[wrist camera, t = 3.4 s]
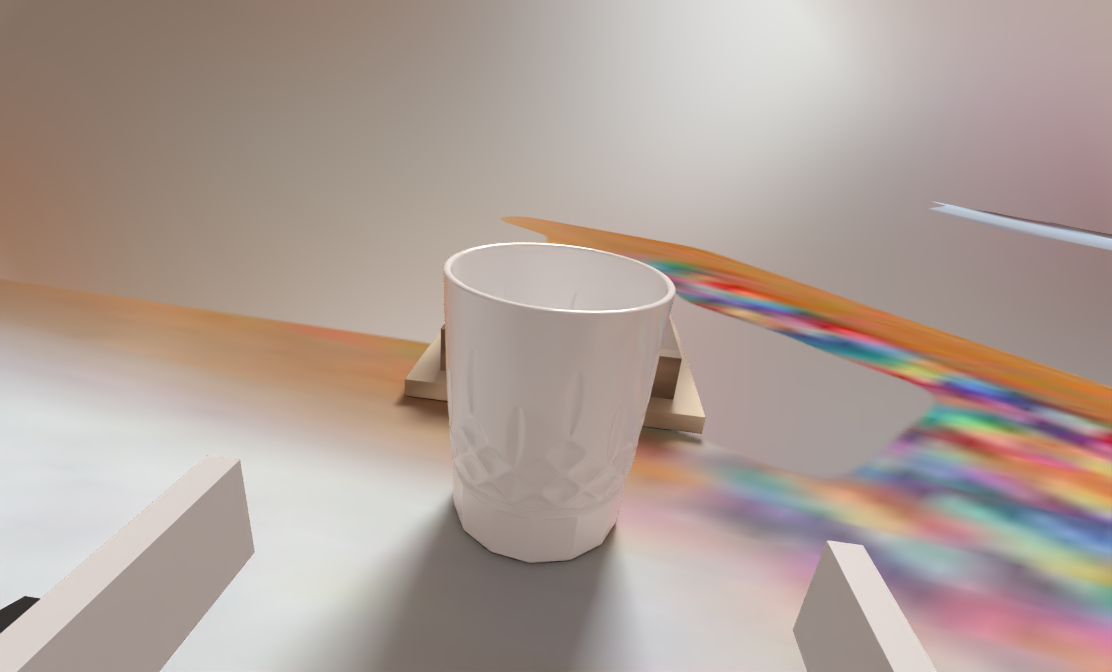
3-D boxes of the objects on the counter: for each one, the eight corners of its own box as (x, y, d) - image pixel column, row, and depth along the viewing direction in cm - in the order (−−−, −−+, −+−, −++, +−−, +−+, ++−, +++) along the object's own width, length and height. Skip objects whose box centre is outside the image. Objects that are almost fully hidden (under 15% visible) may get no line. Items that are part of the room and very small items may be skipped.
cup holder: (405, 395, 29) (404, 336, 28) (471, 299, 44) (473, 258, 43) (701, 433, 29) (715, 374, 27) (668, 323, 43) (676, 282, 42)
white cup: (438, 587, 18) (442, 309, 14) (440, 449, 25) (443, 237, 21) (658, 570, 20) (717, 315, 16) (602, 444, 27) (633, 247, 23)
